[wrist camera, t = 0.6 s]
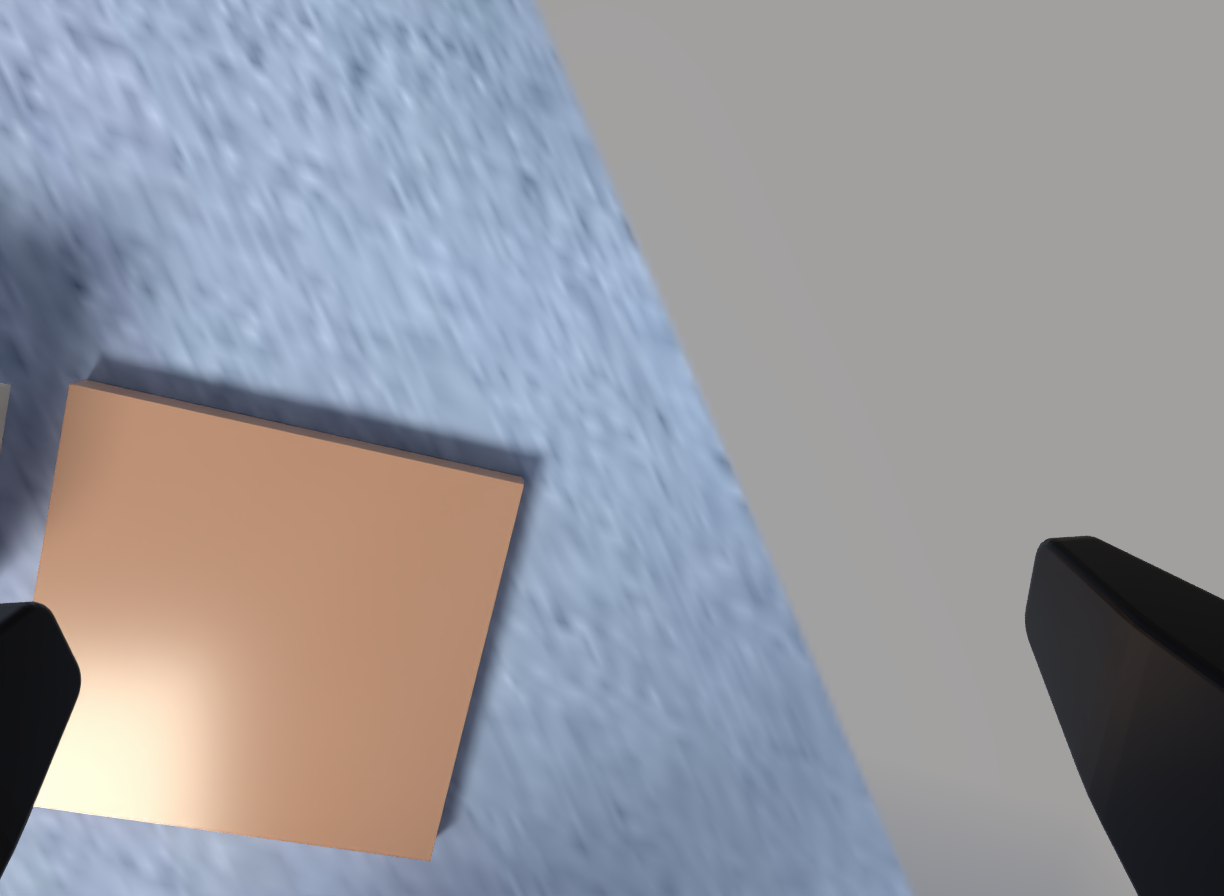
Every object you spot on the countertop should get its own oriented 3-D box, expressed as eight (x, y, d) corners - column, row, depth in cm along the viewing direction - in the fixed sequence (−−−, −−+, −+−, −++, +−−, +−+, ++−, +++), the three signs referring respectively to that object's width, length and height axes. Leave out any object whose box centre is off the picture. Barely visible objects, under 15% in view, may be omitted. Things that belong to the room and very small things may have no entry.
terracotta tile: (432, 841, 23) (430, 861, 22) (17, 782, 21) (-1, 801, 20) (522, 477, 21) (524, 484, 21) (86, 379, 19) (69, 383, 19)
